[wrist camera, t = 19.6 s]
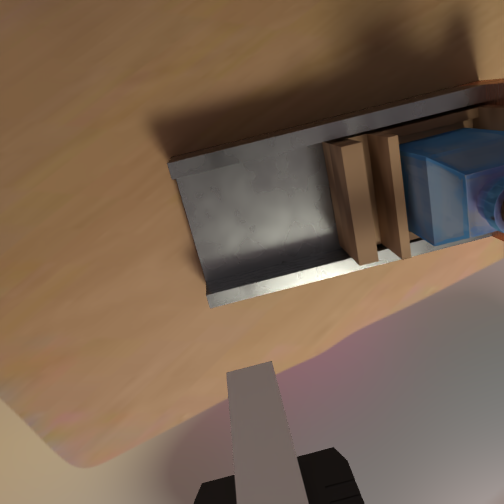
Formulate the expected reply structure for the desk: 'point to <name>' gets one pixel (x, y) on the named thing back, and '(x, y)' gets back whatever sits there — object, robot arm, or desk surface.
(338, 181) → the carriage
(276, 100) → the desk surface
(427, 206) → the perfume bottle
